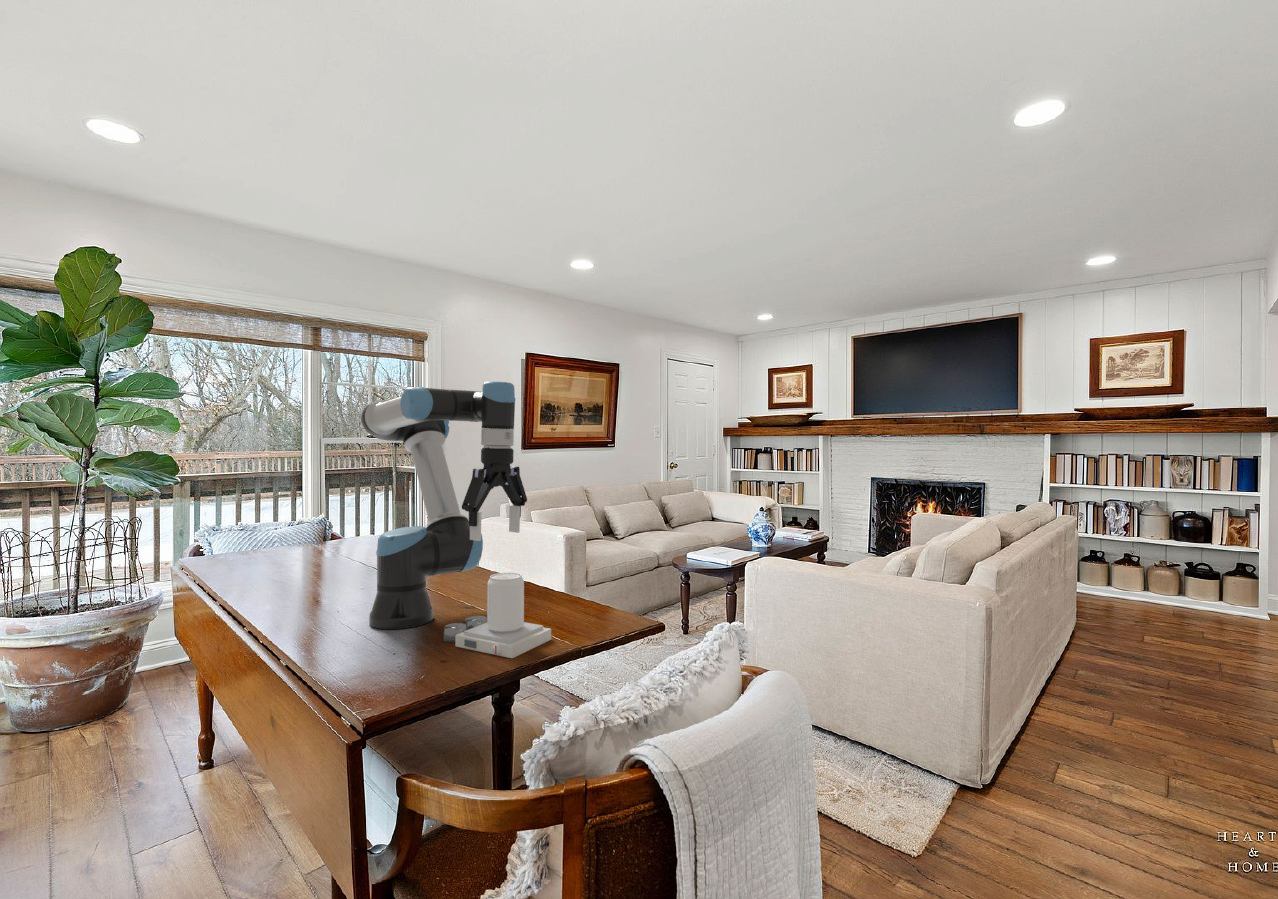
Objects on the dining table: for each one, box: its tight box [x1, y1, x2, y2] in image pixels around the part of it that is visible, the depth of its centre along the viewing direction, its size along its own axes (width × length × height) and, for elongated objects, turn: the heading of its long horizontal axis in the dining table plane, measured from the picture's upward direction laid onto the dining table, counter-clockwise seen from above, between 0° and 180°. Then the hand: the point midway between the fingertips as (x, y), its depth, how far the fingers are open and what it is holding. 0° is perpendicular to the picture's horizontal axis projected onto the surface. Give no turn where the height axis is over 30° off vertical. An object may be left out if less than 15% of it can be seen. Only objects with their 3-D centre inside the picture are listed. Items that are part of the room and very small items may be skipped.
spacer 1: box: [443, 622, 466, 643], centre depth 141 cm, size 5×5×3 cm
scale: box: [454, 621, 552, 659], centre depth 138 cm, size 16×15×3 cm
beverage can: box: [486, 572, 525, 633], centre depth 138 cm, size 8×8×12 cm
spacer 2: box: [464, 615, 487, 630], centre depth 147 cm, size 5×5×3 cm
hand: (495, 536), depth 145 cm, fingers open, 13 cm apart
